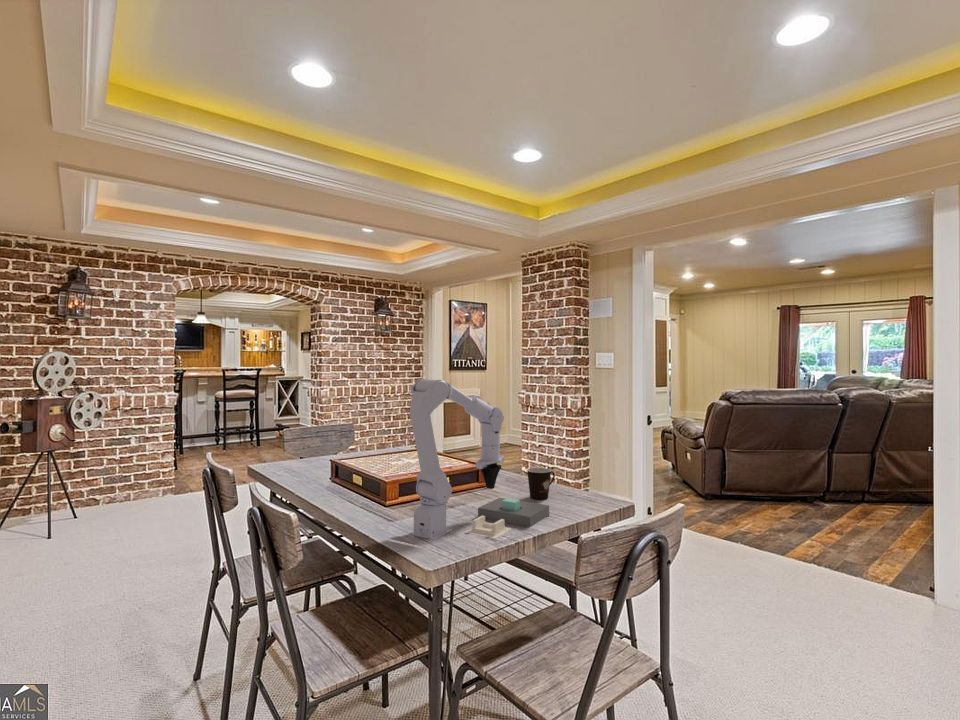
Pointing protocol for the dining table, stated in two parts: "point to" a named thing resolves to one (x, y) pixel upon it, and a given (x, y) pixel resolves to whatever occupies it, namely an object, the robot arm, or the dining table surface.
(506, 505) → the plug
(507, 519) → the block
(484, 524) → the beige square holder
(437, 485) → the robot arm
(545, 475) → the coffee mug
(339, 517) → the dining table surface
